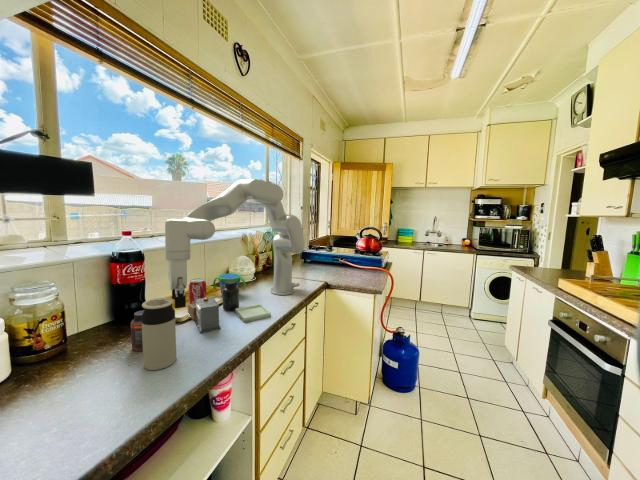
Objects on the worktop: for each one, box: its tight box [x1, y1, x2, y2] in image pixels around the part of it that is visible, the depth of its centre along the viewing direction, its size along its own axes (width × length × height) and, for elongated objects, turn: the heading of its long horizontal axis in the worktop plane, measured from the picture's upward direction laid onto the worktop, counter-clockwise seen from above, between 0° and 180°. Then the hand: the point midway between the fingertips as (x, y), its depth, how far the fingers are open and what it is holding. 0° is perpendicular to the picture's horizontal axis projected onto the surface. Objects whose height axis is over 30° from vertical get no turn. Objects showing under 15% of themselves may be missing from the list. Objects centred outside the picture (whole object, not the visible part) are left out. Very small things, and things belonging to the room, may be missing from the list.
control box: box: [194, 296, 222, 334], centre depth 97 cm, size 7×11×10 cm, turn 34°
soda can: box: [188, 277, 207, 305], centre depth 114 cm, size 7×7×12 cm
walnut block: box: [187, 303, 197, 321], centre depth 104 cm, size 5×5×5 cm
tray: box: [235, 303, 272, 323], centre depth 108 cm, size 11×11×2 cm
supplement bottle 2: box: [222, 281, 240, 312], centre depth 113 cm, size 7×7×12 cm
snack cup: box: [212, 272, 246, 297], centre depth 129 cm, size 16×10×10 cm
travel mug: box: [141, 297, 177, 371], centre depth 73 cm, size 8×8×18 cm
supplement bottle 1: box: [130, 309, 144, 352], centre depth 81 cm, size 6×6×11 cm
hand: (178, 302), depth 91 cm, fingers open, 9 cm apart
